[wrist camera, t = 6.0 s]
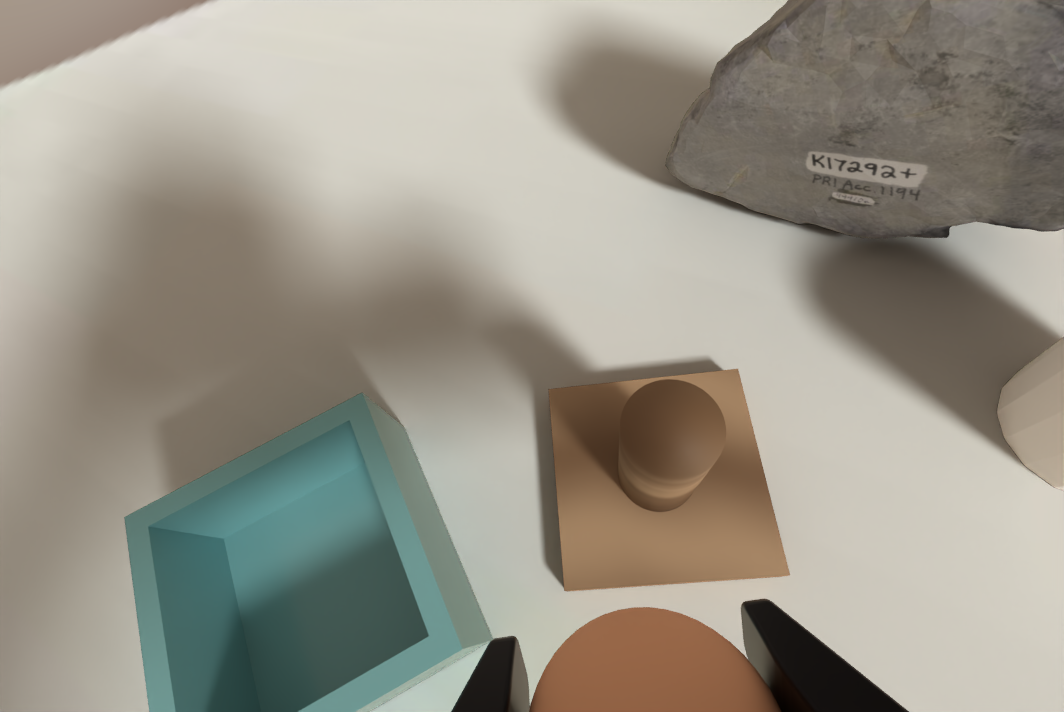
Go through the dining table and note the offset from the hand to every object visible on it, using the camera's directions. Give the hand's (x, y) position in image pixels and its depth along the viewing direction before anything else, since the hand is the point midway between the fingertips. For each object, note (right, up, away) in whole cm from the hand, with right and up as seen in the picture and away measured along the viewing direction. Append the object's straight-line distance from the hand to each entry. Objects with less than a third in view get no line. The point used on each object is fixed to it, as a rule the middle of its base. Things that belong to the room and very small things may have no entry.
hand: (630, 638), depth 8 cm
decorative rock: (+13, +11, +18) cm, 25 cm away
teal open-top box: (-9, -5, +13) cm, 17 cm away
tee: (+3, 0, +13) cm, 14 cm away
